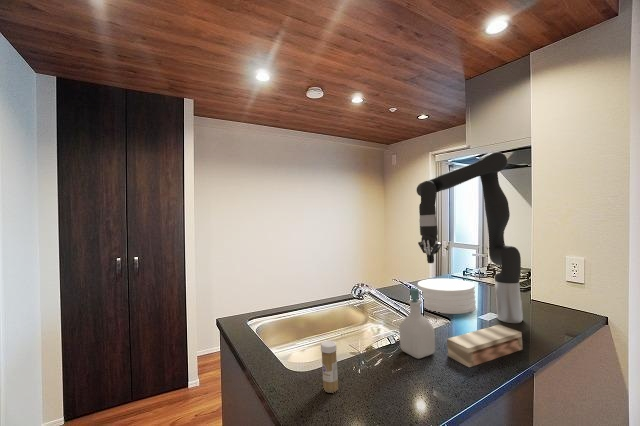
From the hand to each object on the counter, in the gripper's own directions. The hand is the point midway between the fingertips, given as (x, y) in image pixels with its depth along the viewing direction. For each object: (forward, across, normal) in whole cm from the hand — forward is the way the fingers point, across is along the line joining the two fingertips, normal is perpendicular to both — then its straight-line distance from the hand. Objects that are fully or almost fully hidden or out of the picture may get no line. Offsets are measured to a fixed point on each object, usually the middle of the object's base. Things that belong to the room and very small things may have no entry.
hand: (430, 263), depth 132 cm
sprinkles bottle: (+27, -25, +63) cm, 73 cm away
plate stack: (+27, +16, -24) cm, 40 cm away
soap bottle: (+27, -19, +26) cm, 42 cm away
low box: (+27, -30, +6) cm, 41 cm away
